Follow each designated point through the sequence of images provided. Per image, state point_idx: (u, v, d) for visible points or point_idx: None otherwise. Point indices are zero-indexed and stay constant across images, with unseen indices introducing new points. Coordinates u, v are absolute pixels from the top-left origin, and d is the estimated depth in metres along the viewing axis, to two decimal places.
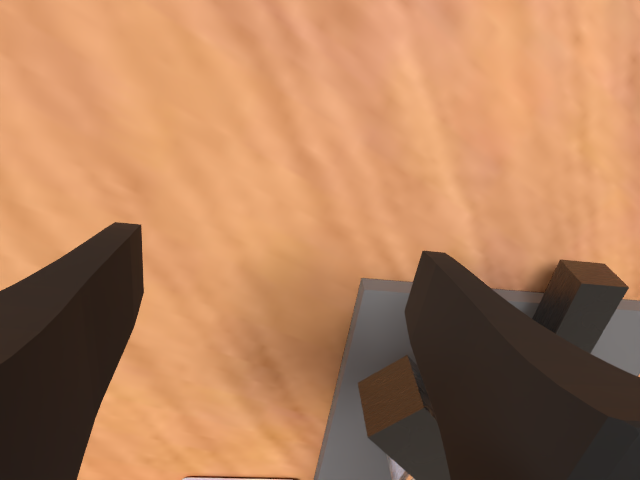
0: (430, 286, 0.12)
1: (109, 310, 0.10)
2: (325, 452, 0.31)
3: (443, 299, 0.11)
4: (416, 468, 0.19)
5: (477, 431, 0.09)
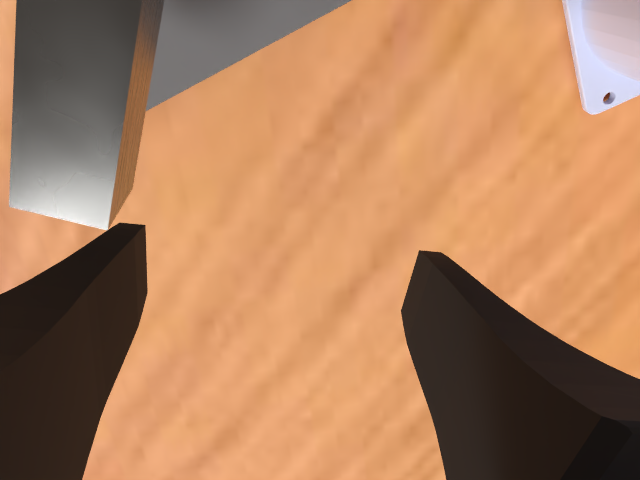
0: (426, 286, 0.12)
1: (113, 310, 0.10)
2: None
3: (439, 299, 0.11)
4: (104, 125, 0.12)
5: (472, 431, 0.09)
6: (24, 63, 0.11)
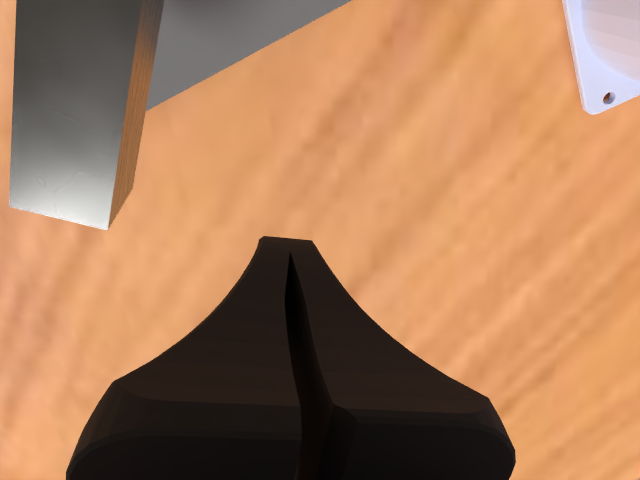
0: (287, 274, 0.11)
1: None
2: None
3: (291, 287, 0.11)
4: (104, 125, 0.12)
5: None
6: (24, 63, 0.11)
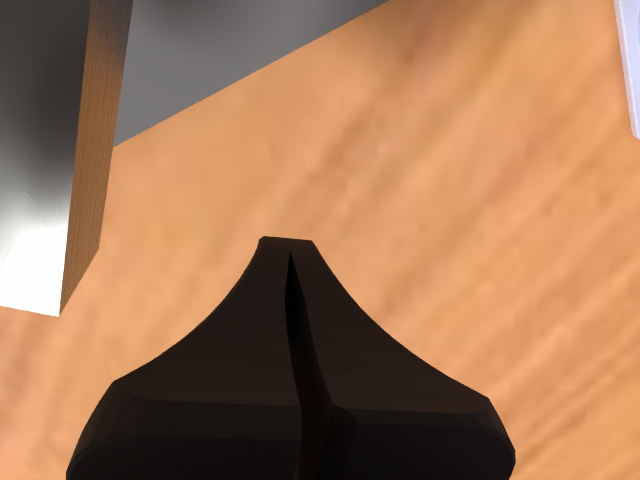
0: (287, 274, 0.11)
1: None
2: None
3: (291, 287, 0.11)
4: (46, 190, 0.09)
5: None
6: None
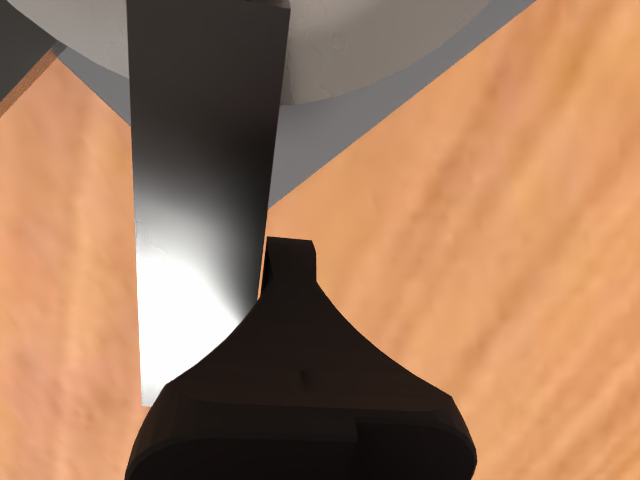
0: (265, 272, 0.11)
1: None
2: None
3: None
4: (235, 319, 0.10)
5: None
6: (147, 278, 0.10)
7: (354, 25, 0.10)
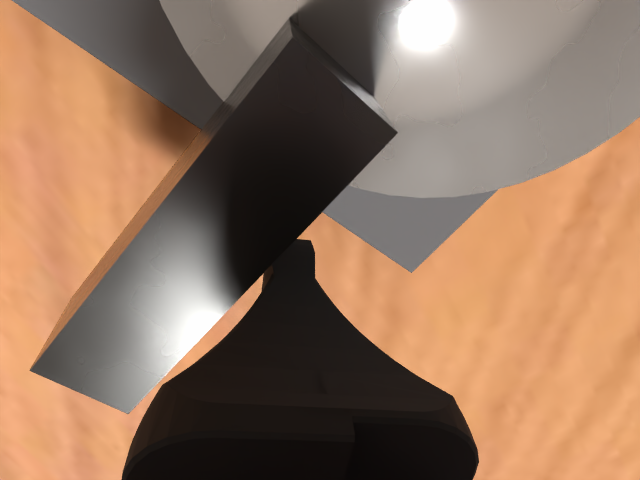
0: (266, 272, 0.11)
1: None
2: None
3: None
4: (180, 334, 0.10)
5: None
6: (127, 263, 0.09)
7: (406, 147, 0.11)
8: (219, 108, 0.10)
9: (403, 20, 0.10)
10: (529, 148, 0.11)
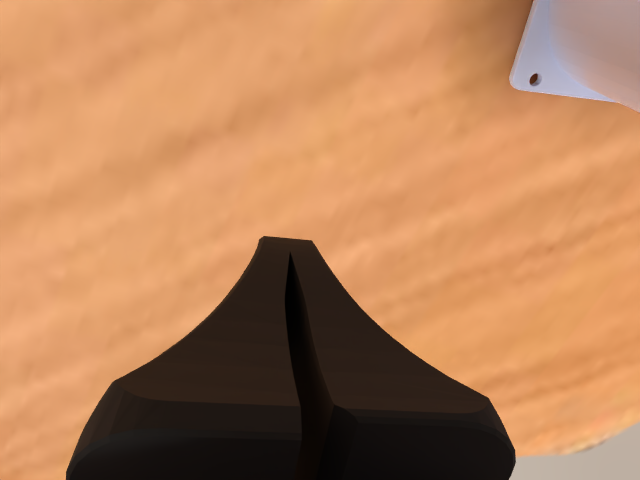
0: (287, 274, 0.11)
1: None
2: None
3: (291, 287, 0.11)
4: None
5: None
6: None
7: None
8: None
9: None
10: None
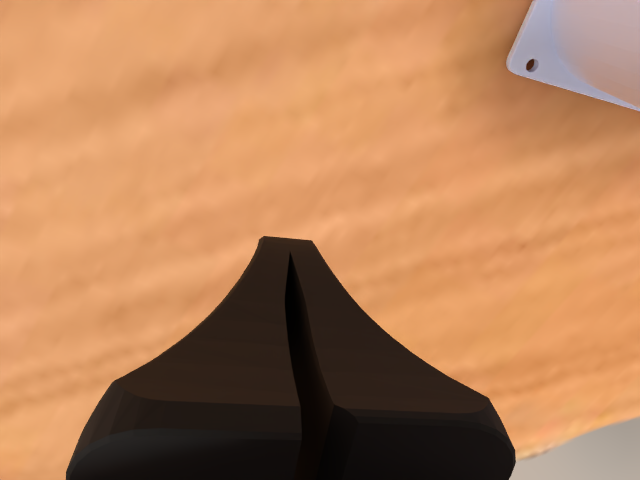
0: (287, 274, 0.11)
1: None
2: None
3: (291, 287, 0.11)
4: None
5: None
6: None
7: None
8: None
9: None
10: None
